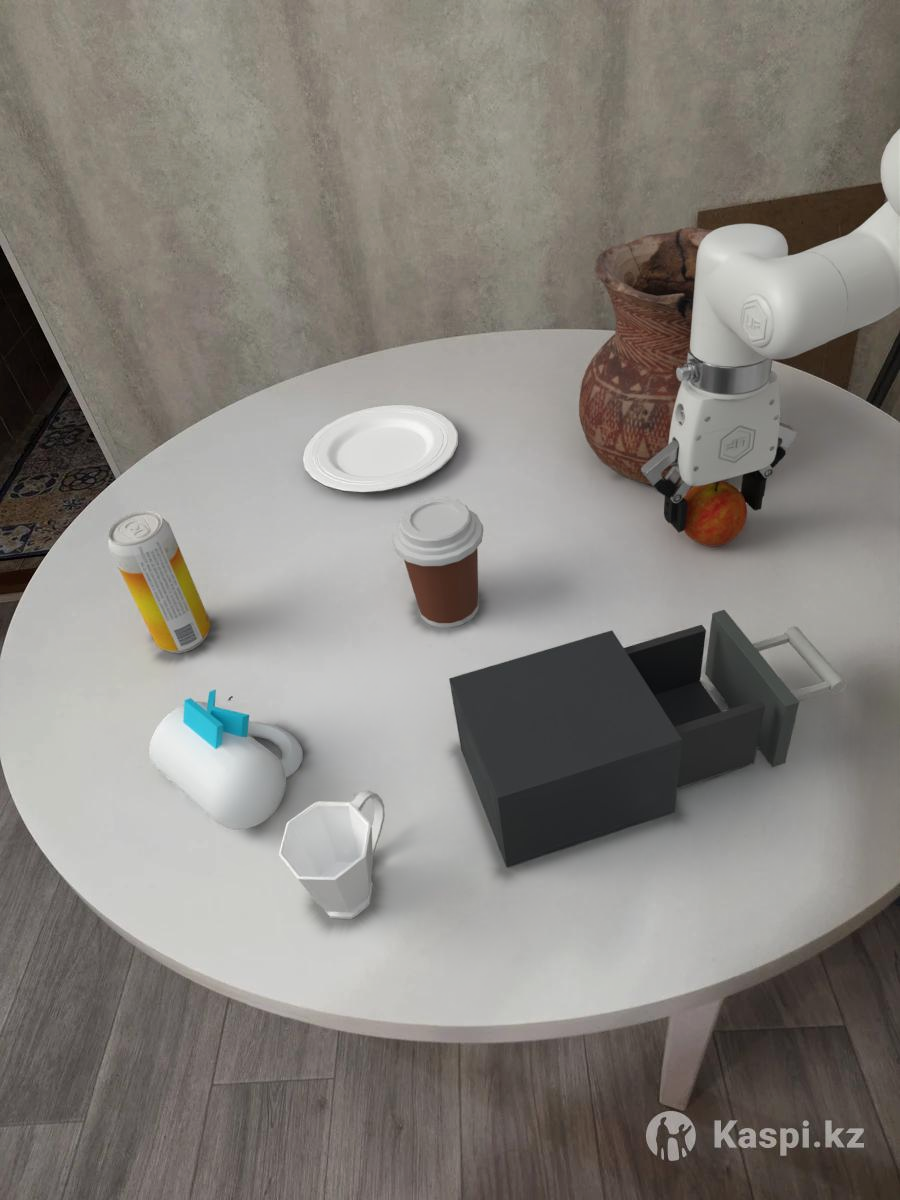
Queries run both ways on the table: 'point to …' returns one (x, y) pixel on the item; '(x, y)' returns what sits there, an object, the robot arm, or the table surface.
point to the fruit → (715, 513)
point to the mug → (224, 761)
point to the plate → (380, 449)
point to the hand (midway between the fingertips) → (712, 513)
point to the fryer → (565, 746)
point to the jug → (641, 349)
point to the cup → (335, 853)
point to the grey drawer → (727, 694)
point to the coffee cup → (441, 558)
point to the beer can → (159, 580)
